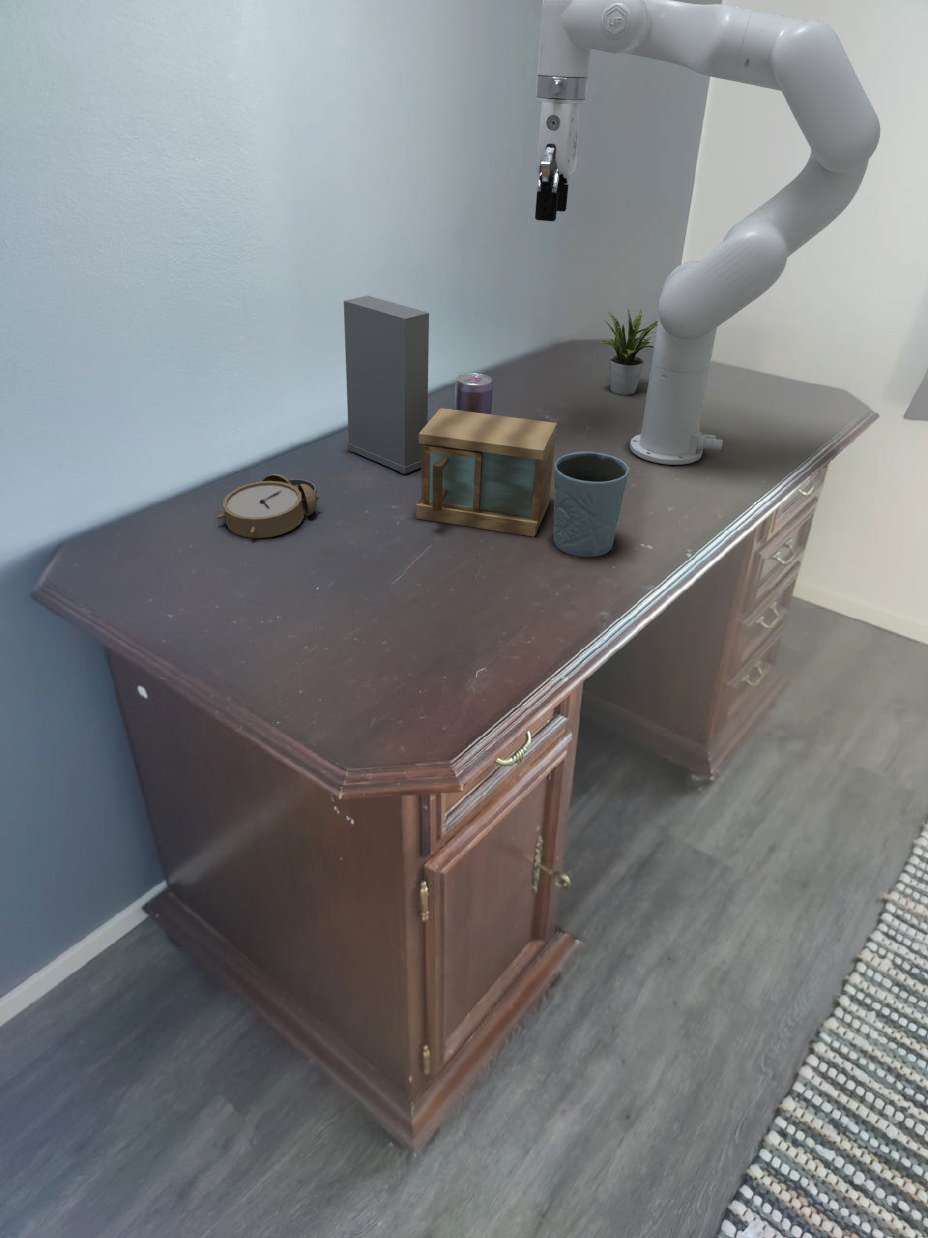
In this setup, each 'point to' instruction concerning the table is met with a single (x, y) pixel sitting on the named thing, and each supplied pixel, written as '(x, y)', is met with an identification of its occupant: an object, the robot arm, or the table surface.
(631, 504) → the table surface
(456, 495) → the cabinet door
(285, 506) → the alarm clock
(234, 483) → the table surface
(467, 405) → the beverage can
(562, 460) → the blue-grey pot
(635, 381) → the house plant
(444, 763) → the table surface
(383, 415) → the cassette tape recorder
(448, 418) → the curio cabinet
